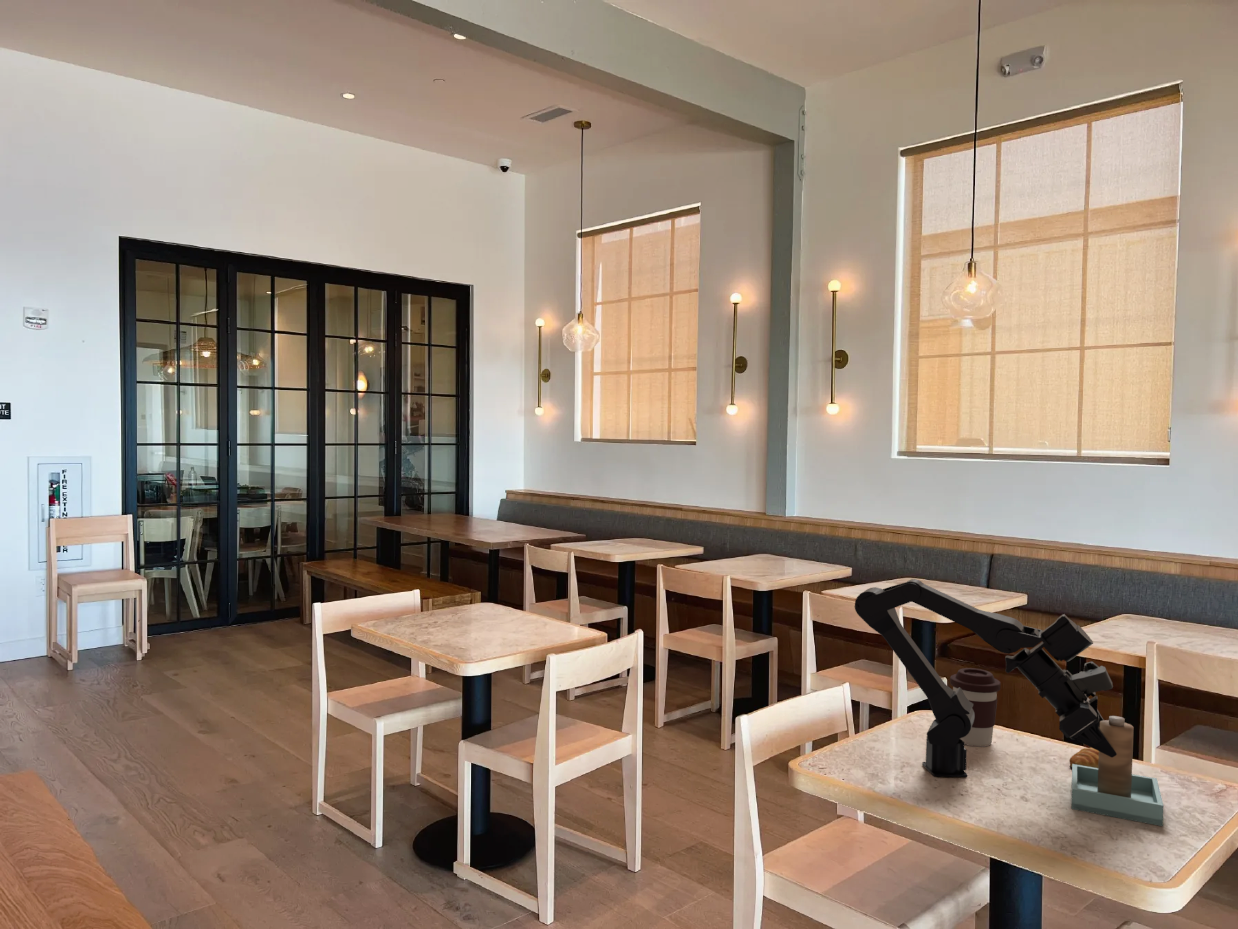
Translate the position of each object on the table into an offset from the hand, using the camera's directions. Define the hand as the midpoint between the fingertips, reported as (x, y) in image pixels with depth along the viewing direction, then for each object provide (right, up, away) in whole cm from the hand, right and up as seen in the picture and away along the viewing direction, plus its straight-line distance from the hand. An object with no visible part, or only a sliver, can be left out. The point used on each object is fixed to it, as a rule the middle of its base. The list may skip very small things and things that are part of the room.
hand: (1113, 747), depth 154 cm
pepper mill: (0, -9, 0) cm, 9 cm away
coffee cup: (-12, -9, +31) cm, 34 cm away
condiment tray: (0, -10, 0) cm, 10 cm away
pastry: (+6, -10, +18) cm, 21 cm away
